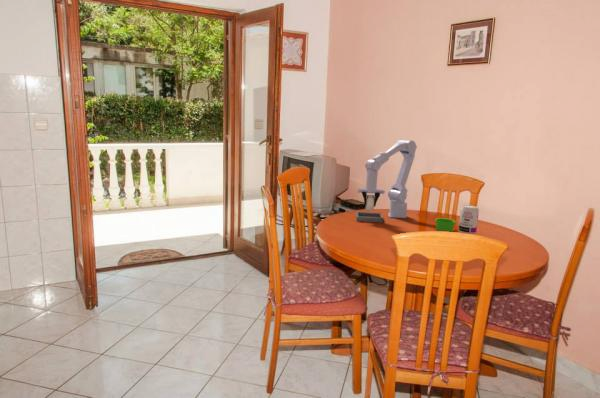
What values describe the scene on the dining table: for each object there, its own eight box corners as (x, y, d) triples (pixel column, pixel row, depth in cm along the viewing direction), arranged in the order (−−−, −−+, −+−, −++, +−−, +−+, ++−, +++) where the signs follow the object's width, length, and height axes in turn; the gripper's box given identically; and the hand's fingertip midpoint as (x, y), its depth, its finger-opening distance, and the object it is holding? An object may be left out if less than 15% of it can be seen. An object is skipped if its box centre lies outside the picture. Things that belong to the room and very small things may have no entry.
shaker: (372, 209, 237) (374, 194, 235) (374, 210, 233) (375, 196, 231) (365, 208, 237) (366, 194, 235) (366, 210, 233) (367, 195, 231)
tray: (380, 217, 241) (380, 213, 241) (382, 222, 230) (383, 218, 229) (355, 216, 242) (356, 211, 242) (356, 221, 231) (357, 216, 230)
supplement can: (472, 234, 213) (476, 205, 210) (477, 239, 205) (481, 209, 202) (456, 233, 213) (459, 204, 210) (460, 238, 205) (463, 208, 202)
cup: (456, 246, 191) (458, 223, 189) (435, 246, 191) (438, 222, 189) (449, 241, 200) (452, 218, 198) (430, 240, 200) (432, 217, 198)
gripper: (358, 182, 228) (357, 206, 231) (385, 183, 227) (383, 208, 230) (358, 180, 235) (356, 204, 238) (384, 181, 234) (382, 205, 237)
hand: (369, 205), depth 234 cm, fingers closed on shaker, 4 cm apart
